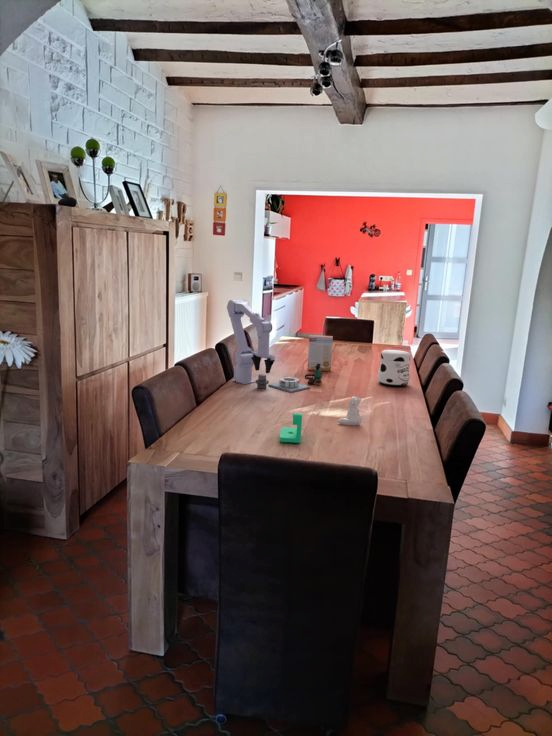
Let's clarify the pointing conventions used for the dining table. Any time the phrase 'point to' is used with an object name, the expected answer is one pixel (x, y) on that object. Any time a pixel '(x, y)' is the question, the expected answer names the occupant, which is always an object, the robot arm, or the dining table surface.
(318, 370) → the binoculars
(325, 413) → the dining table surface
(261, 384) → the grey rounded knob
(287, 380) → the segmented white ring
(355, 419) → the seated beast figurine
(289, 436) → the camera mount
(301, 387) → the mount plate
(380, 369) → the milk container
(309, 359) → the cracker box
